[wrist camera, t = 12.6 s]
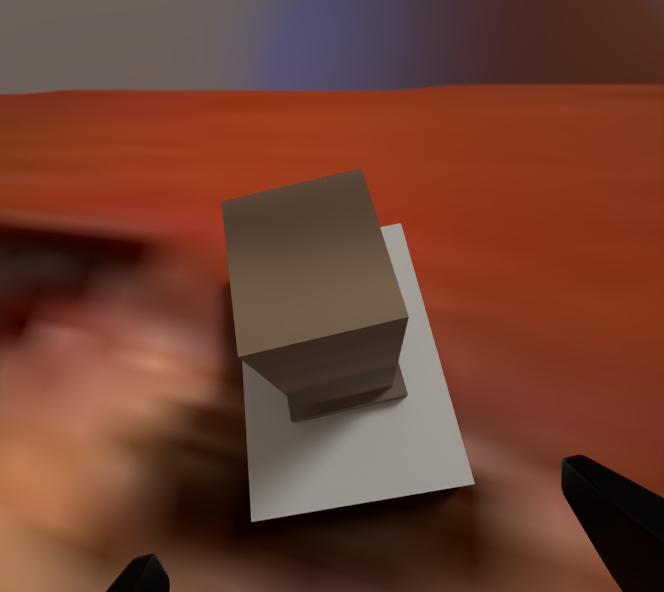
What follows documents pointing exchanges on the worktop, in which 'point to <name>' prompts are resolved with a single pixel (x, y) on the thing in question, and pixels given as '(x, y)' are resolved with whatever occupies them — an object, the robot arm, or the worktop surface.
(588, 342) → the worktop surface
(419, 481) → the display block
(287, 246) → the brown box on plinth
